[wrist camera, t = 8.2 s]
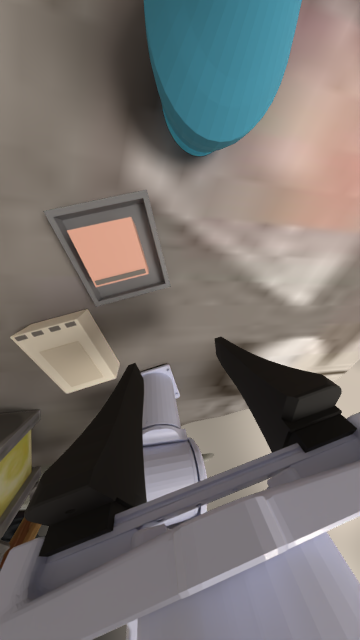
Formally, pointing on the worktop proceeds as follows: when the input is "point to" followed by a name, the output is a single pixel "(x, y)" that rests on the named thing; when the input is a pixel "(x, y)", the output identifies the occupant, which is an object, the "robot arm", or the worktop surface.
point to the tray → (107, 211)
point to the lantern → (16, 476)
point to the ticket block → (70, 350)
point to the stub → (110, 251)
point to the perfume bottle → (217, 65)
